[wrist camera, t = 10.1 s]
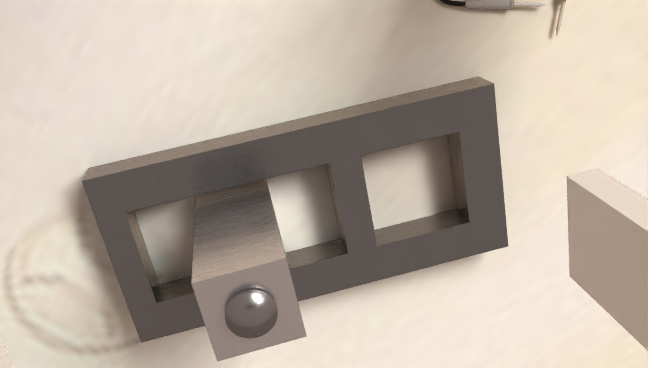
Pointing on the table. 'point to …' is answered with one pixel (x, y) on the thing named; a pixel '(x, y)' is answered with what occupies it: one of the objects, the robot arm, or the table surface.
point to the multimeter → (501, 6)
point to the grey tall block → (242, 272)
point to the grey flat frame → (347, 189)
